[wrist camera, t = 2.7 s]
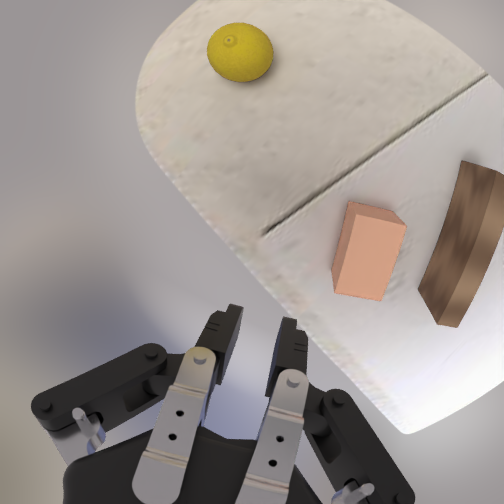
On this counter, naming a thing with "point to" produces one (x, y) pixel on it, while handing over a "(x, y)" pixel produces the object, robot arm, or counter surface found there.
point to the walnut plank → (464, 244)
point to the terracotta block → (367, 251)
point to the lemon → (240, 52)
